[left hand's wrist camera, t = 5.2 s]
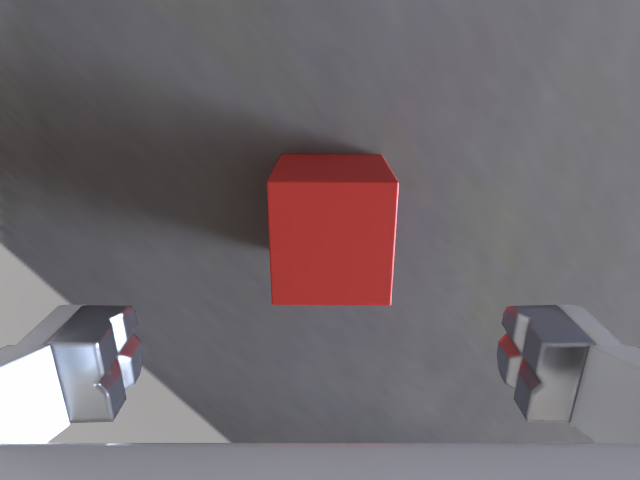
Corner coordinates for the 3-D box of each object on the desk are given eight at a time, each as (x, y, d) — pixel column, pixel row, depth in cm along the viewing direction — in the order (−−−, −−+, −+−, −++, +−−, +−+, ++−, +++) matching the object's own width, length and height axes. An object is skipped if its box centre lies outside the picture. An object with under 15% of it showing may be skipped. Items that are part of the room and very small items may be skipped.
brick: (382, 154, 19) (399, 182, 14) (377, 253, 21) (391, 306, 16) (280, 153, 19) (266, 181, 15) (283, 253, 21) (271, 305, 16)
